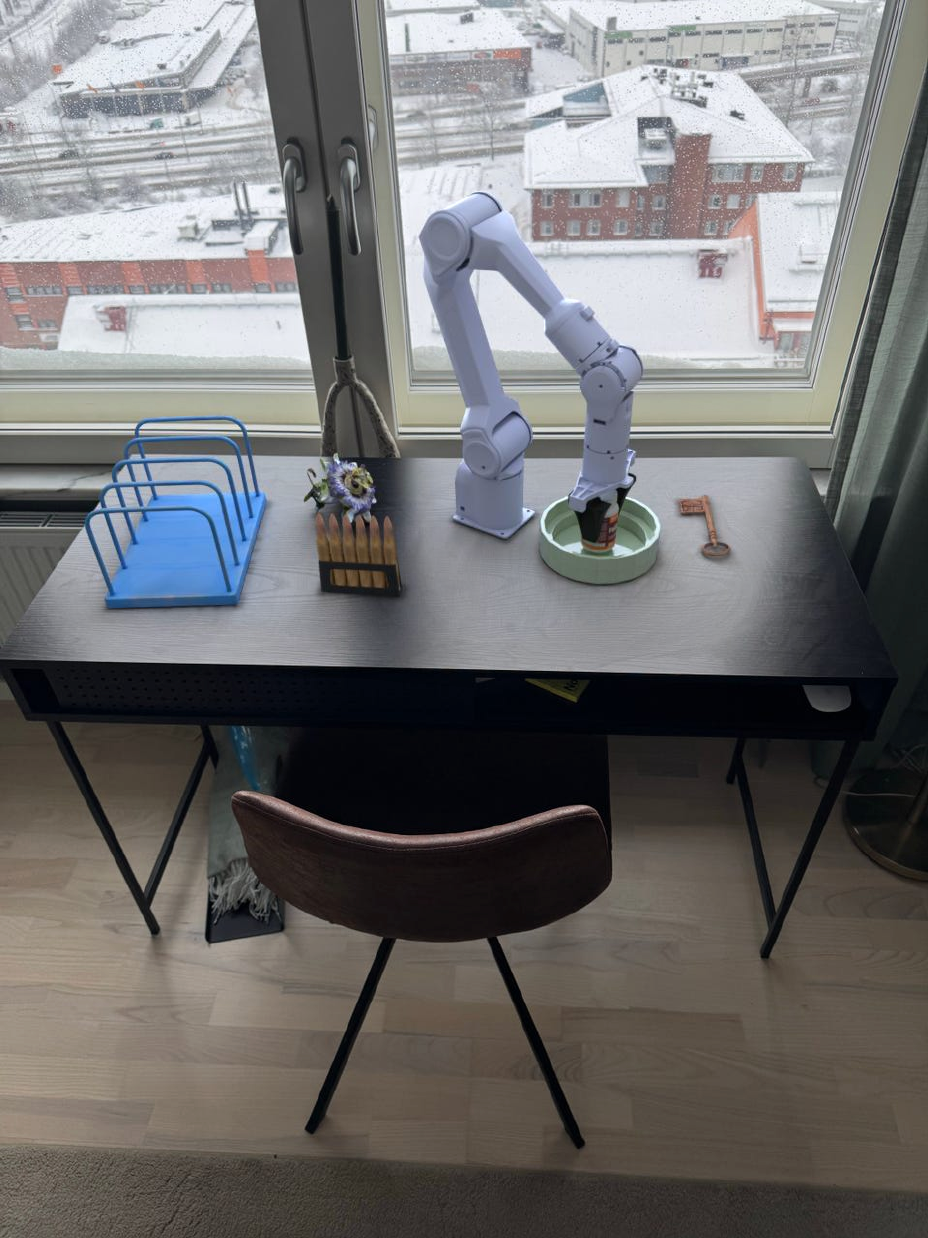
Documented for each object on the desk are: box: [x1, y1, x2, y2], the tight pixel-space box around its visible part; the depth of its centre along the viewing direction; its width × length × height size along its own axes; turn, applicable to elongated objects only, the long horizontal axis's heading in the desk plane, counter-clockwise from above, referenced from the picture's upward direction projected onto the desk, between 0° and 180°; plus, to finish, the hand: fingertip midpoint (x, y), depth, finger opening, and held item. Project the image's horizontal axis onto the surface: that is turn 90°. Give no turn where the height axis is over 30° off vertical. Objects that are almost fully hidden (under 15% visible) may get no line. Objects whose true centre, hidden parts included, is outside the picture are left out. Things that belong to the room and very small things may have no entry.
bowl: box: [538, 495, 662, 585], centre depth 129 cm, size 16×16×4 cm
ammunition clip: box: [315, 512, 403, 597], centre depth 121 cm, size 11×2×12 cm, turn 83°
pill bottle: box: [581, 489, 619, 553], centre depth 127 cm, size 5×5×8 cm
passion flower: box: [303, 453, 377, 526], centre depth 136 cm, size 11×11×12 cm
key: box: [678, 494, 731, 558], centre depth 133 cm, size 6×1×15 cm
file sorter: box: [84, 414, 268, 609], centre depth 127 cm, size 25×17×15 cm
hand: (598, 530), depth 128 cm, fingers closed on pill bottle, 5 cm apart
